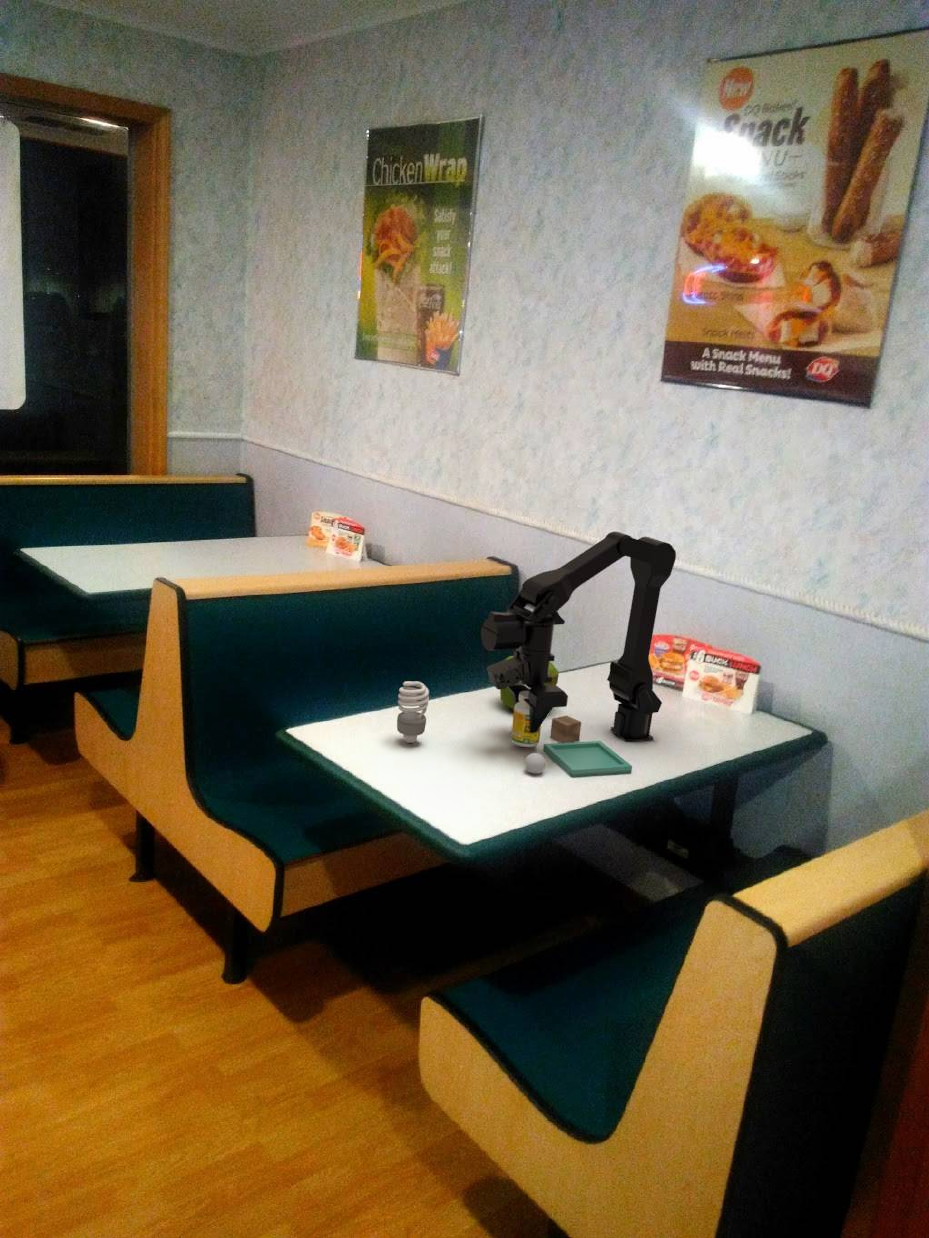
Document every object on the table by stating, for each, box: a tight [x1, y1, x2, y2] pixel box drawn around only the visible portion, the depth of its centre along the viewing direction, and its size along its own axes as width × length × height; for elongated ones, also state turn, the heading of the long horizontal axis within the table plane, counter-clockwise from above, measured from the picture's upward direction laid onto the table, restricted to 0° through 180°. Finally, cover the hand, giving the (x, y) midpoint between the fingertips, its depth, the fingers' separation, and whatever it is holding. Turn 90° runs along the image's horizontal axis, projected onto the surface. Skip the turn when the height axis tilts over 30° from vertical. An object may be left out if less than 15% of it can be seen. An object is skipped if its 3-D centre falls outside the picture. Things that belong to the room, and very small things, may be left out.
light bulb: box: [396, 680, 430, 744], centre depth 178 cm, size 6×6×12 cm
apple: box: [499, 655, 560, 711], centre depth 202 cm, size 12×12×11 cm
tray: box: [542, 740, 633, 778], centre depth 178 cm, size 12×12×1 cm
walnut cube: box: [549, 714, 582, 743], centre depth 188 cm, size 4×4×4 cm
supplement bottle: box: [510, 691, 542, 748], centre depth 181 cm, size 5×5×10 cm
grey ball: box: [524, 752, 546, 774], centre depth 171 cm, size 4×4×4 cm
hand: (526, 726), depth 181 cm, fingers closed on supplement bottle, 5 cm apart
